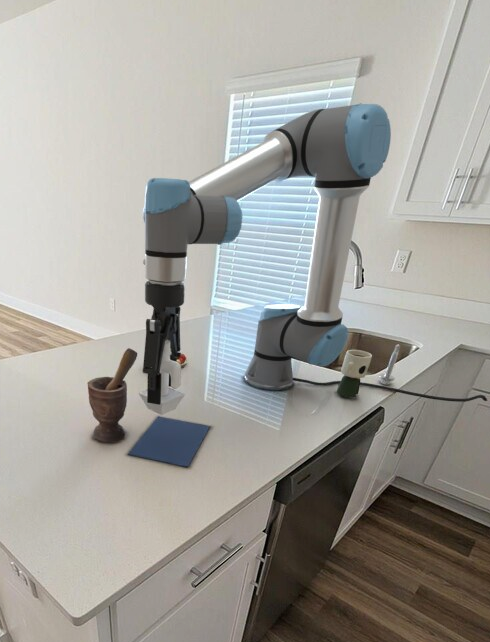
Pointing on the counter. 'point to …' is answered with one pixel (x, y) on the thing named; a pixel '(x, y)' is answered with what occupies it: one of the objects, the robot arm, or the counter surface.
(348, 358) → the character mug
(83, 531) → the counter surface
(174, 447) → the felt mat
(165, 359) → the figurine
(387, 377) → the screw
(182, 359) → the toy food set
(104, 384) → the mortar and pestle
